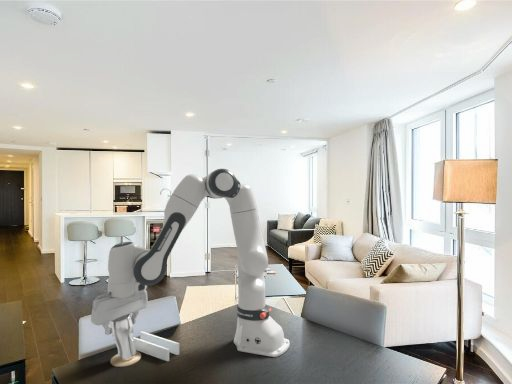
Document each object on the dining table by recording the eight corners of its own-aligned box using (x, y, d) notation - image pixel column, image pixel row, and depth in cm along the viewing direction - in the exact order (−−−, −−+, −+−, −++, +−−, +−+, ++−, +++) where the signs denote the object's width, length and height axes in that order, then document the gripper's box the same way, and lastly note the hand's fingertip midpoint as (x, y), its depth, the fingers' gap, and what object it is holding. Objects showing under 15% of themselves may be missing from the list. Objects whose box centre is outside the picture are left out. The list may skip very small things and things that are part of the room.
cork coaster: (147, 356, 109) (147, 355, 109) (123, 369, 100) (123, 368, 100) (128, 349, 113) (128, 348, 113) (104, 361, 105) (104, 360, 105)
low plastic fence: (179, 354, 110) (179, 343, 110) (167, 361, 105) (167, 349, 105) (141, 341, 120) (142, 331, 120) (129, 347, 115) (129, 337, 115)
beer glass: (129, 362, 103) (122, 322, 101) (112, 361, 105) (104, 322, 103) (141, 349, 110) (134, 311, 108) (125, 348, 111) (118, 310, 109)
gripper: (99, 298, 95) (98, 343, 94) (150, 283, 113) (150, 320, 112) (87, 295, 98) (86, 338, 97) (139, 281, 116) (138, 317, 115)
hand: (120, 328), depth 105 cm, fingers open, 8 cm apart
